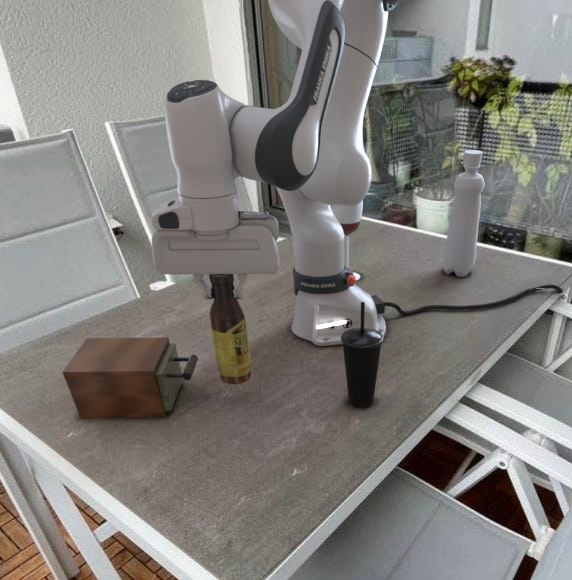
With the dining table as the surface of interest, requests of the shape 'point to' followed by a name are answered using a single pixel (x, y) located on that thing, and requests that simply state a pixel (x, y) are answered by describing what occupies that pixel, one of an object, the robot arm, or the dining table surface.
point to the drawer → (173, 374)
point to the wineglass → (349, 224)
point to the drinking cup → (361, 362)
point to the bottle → (464, 218)
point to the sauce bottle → (229, 332)
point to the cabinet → (117, 377)
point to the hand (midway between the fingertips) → (223, 298)
